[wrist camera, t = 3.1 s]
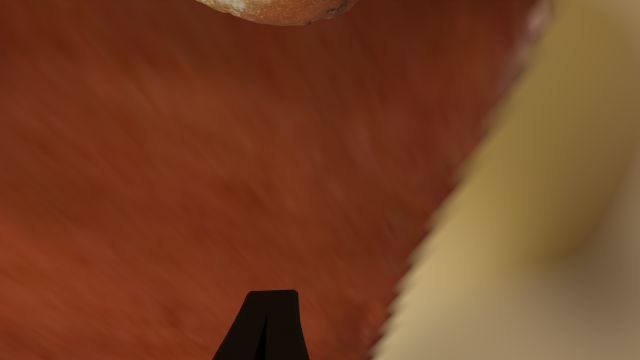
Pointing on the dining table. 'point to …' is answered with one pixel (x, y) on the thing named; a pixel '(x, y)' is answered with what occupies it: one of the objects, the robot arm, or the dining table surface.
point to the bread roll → (282, 10)
